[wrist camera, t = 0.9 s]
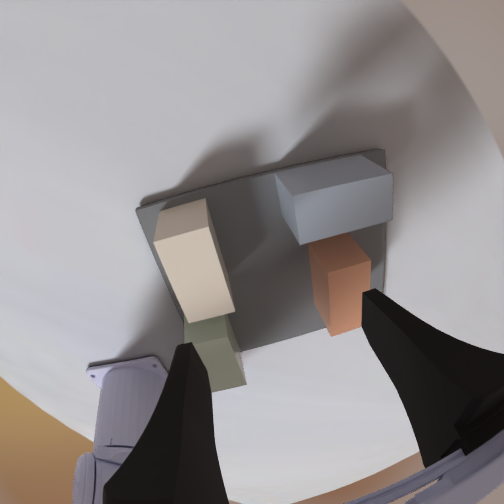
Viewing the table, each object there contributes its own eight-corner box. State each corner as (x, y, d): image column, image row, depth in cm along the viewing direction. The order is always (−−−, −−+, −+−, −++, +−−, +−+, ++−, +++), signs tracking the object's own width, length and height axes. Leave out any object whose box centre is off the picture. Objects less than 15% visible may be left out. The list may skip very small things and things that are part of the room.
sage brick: (239, 348, 27) (246, 384, 23) (206, 356, 27) (210, 392, 23) (221, 298, 24) (227, 336, 20) (183, 308, 23) (184, 346, 20)
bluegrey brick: (360, 154, 19) (392, 173, 16) (362, 195, 21) (392, 219, 18) (274, 172, 19) (292, 195, 16) (281, 214, 21) (299, 245, 17)
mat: (378, 305, 28) (380, 308, 28) (202, 356, 27) (203, 360, 27) (381, 148, 20) (384, 150, 19) (136, 207, 19) (135, 210, 19)
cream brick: (228, 274, 22) (235, 311, 19) (187, 284, 22) (188, 323, 19) (205, 198, 19) (208, 226, 16) (159, 211, 19) (153, 242, 16)
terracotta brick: (347, 292, 26) (367, 324, 22) (314, 302, 25) (330, 336, 22) (345, 230, 22) (370, 260, 19) (307, 241, 22) (327, 273, 19)
